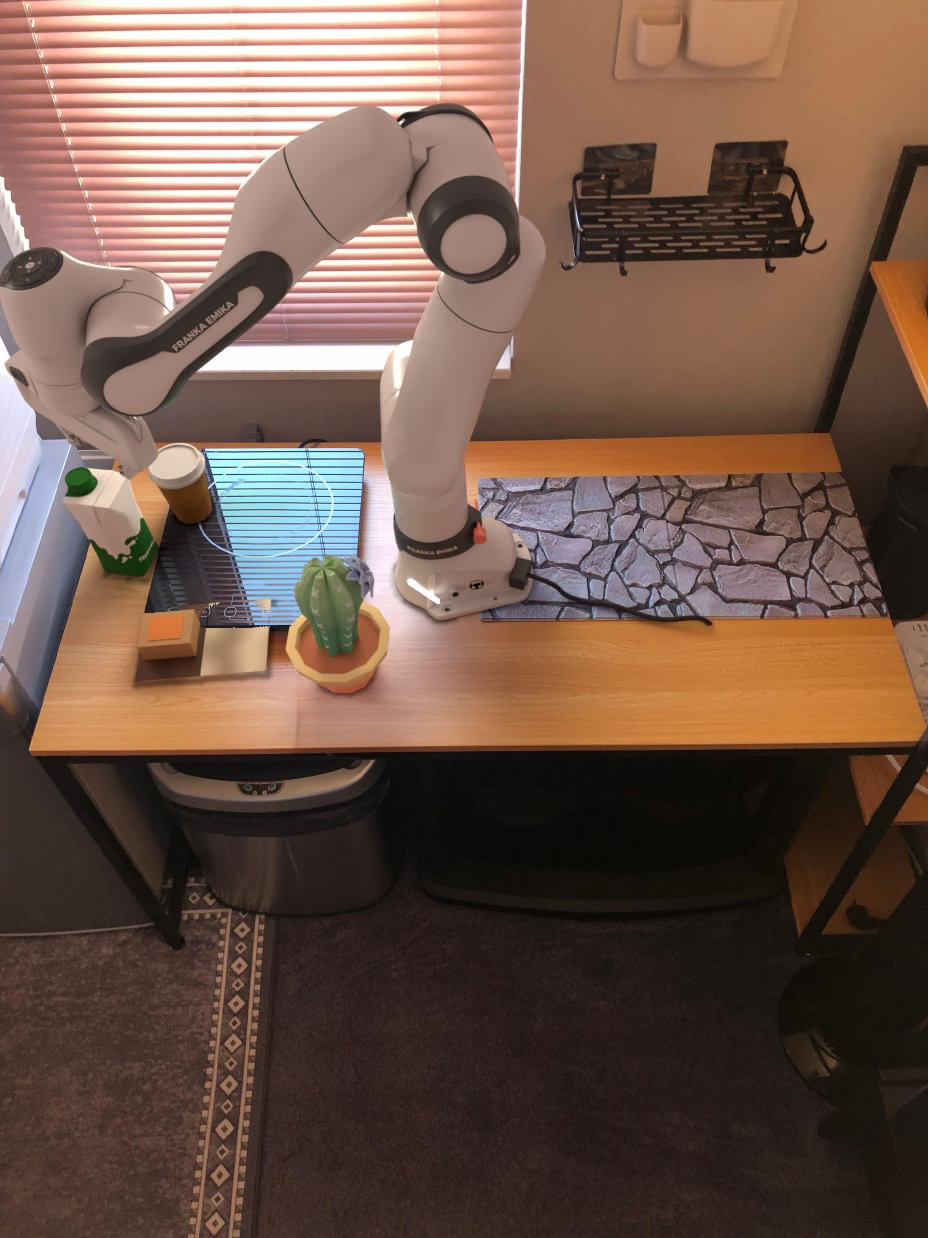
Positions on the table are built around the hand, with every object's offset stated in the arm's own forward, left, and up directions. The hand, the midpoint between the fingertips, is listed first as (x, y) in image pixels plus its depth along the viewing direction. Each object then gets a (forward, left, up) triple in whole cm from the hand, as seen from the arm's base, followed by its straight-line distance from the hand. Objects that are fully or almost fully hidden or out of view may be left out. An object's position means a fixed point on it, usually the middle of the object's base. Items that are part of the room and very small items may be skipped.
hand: (103, 458), depth 125 cm
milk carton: (+9, -12, -34) cm, 37 cm away
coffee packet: (0, +6, -33) cm, 34 cm away
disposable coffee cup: (0, -23, -34) cm, 41 cm away
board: (-5, +6, -34) cm, 35 cm away
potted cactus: (-27, +13, -34) cm, 46 cm away
